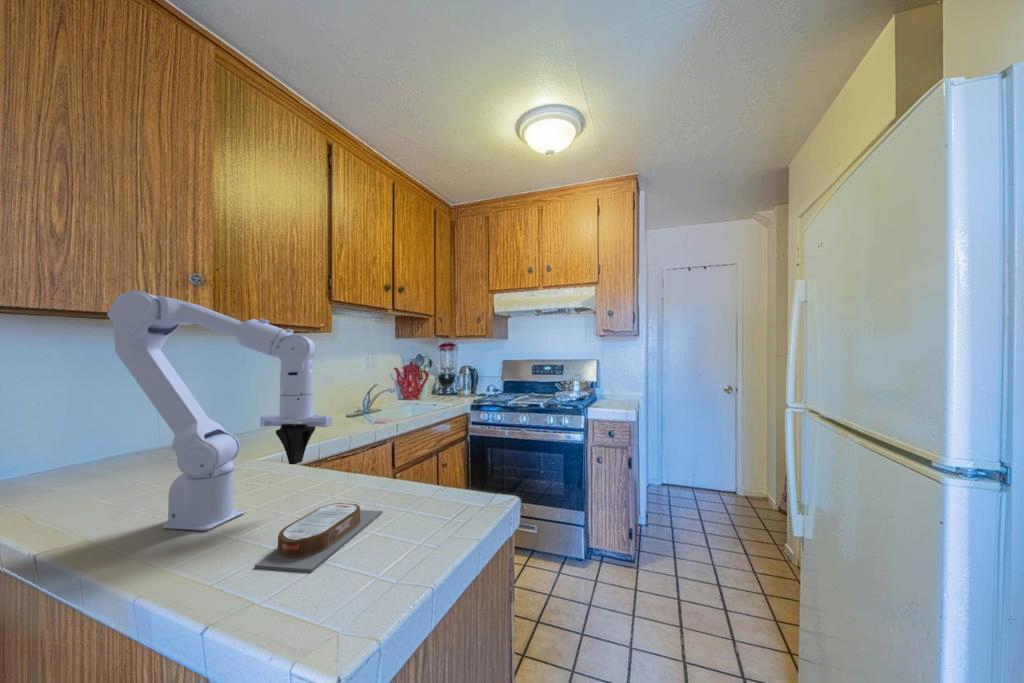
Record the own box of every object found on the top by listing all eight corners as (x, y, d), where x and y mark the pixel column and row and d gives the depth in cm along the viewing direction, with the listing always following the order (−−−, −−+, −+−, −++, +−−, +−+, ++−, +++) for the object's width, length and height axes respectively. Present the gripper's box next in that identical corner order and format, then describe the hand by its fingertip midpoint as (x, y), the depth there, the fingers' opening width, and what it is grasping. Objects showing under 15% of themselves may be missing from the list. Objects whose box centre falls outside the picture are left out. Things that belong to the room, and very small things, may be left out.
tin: (263, 555, 55) (312, 564, 54) (264, 534, 56) (314, 542, 54) (329, 514, 70) (369, 519, 69) (330, 497, 70) (370, 502, 69)
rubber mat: (254, 567, 53) (254, 565, 53) (339, 511, 73) (339, 508, 73) (311, 572, 52) (311, 569, 52) (382, 513, 71) (382, 511, 71)
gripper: (247, 396, 71) (246, 467, 71) (315, 396, 69) (315, 469, 68) (276, 393, 78) (275, 457, 78) (338, 392, 76) (338, 459, 75)
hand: (295, 462), depth 73 cm, fingers closed
